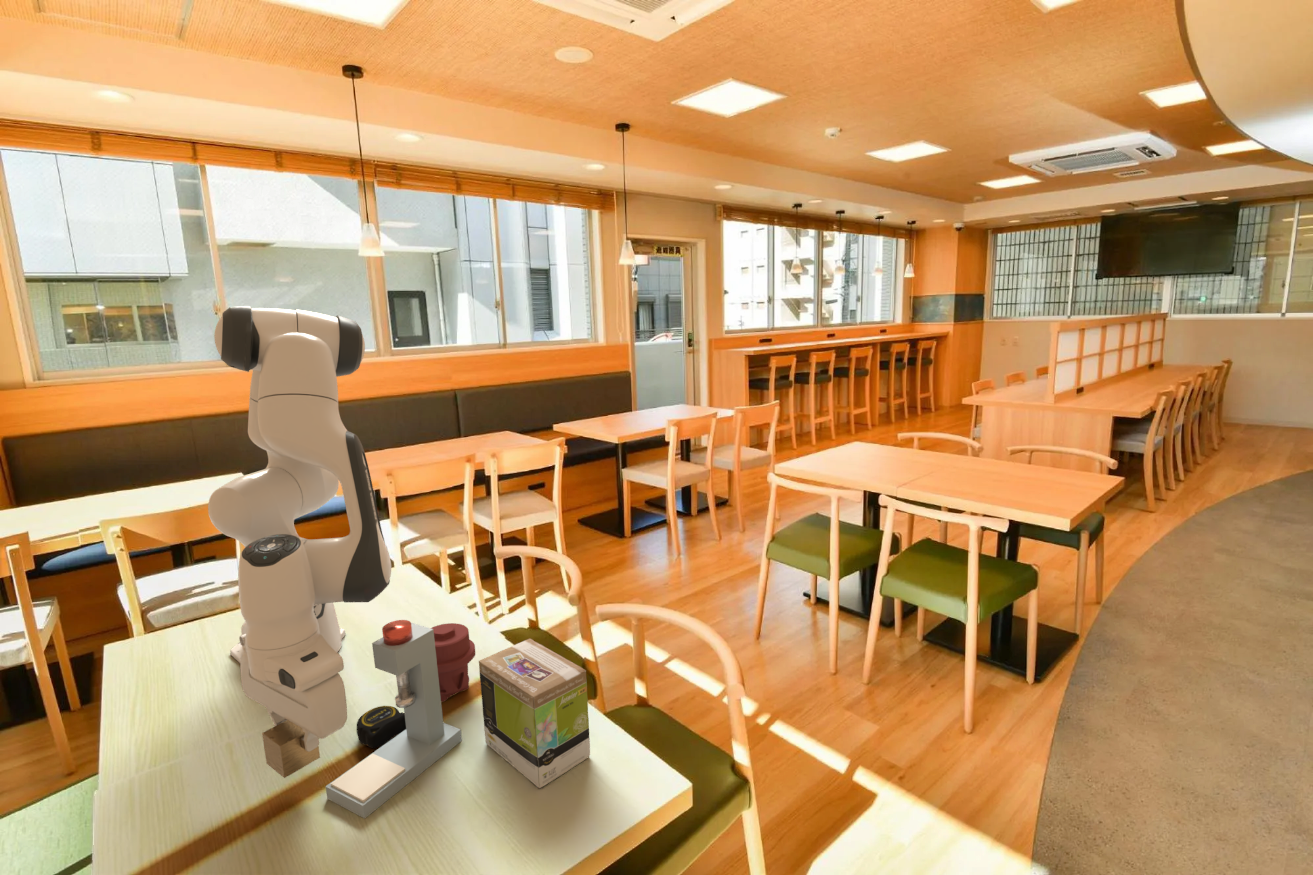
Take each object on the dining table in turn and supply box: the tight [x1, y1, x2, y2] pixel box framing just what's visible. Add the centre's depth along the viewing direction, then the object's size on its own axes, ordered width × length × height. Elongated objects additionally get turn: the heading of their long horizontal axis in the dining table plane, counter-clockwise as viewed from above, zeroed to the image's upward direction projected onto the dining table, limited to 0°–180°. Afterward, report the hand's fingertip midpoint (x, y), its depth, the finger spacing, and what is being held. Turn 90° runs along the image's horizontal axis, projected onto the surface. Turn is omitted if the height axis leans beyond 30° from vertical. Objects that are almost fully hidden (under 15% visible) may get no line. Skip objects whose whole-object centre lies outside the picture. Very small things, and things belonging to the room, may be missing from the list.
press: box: [324, 622, 463, 819], centre depth 96 cm, size 8×18×20 cm, turn 151°
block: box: [261, 720, 321, 779], centre depth 93 cm, size 5×5×5 cm
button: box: [381, 619, 416, 709], centre depth 97 cm, size 4×4×12 cm
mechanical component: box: [430, 622, 476, 703], centre depth 116 cm, size 12×10×10 cm
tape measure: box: [356, 705, 406, 749], centre depth 105 cm, size 7×7×4 cm
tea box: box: [478, 638, 591, 789], centre depth 100 cm, size 15×10×15 cm
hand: (297, 739), depth 93 cm, fingers closed on block, 5 cm apart
